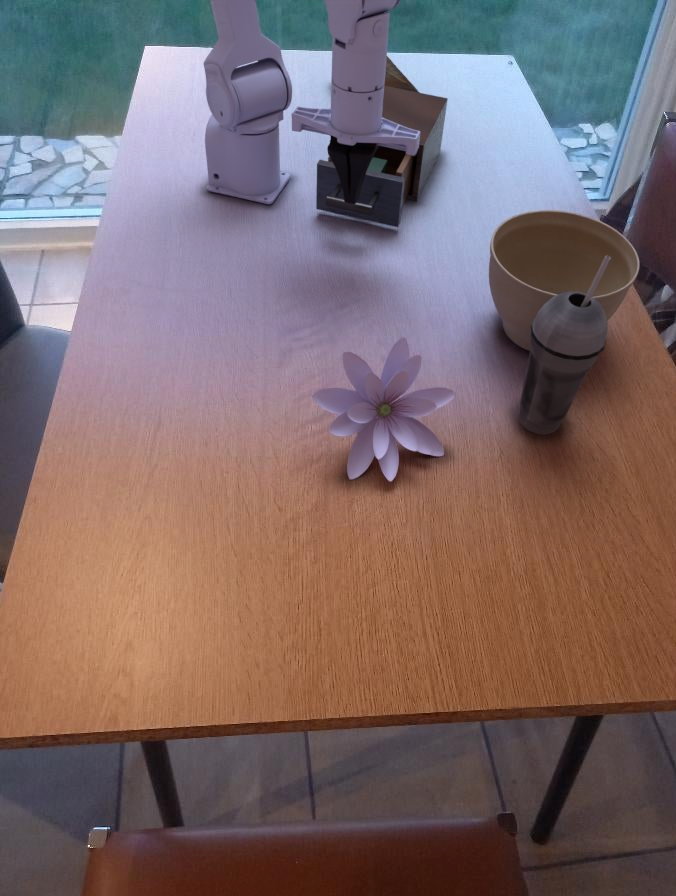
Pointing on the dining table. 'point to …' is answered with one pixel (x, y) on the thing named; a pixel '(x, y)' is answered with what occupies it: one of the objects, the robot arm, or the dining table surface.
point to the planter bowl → (555, 265)
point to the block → (378, 165)
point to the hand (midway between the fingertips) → (351, 199)
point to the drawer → (370, 188)
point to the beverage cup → (561, 355)
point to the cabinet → (418, 128)
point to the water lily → (383, 411)
